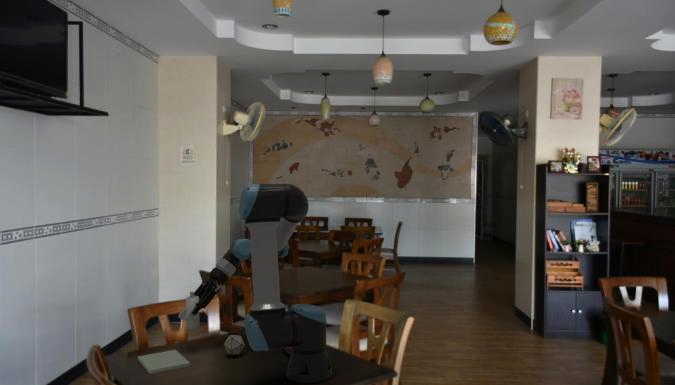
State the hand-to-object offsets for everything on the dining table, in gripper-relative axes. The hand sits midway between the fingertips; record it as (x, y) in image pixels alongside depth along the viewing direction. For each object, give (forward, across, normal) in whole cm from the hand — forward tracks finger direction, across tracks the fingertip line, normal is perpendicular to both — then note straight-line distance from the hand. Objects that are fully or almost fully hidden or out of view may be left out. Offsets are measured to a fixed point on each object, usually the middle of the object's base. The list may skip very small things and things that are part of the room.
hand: (183, 319), depth 201 cm
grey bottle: (0, 0, -5) cm, 5 cm away
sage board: (+16, -7, -2) cm, 18 cm away
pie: (-16, -28, -34) cm, 47 cm away
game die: (0, -16, -19) cm, 24 cm away
